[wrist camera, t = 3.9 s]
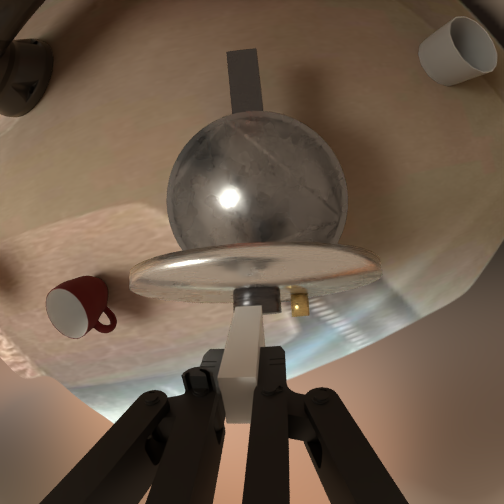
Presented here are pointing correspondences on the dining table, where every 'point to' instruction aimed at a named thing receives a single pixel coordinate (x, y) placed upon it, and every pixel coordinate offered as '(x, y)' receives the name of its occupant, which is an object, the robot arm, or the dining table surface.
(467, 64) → the cup
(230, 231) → the pot
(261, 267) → the lid
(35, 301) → the dining table surface
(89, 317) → the mug
